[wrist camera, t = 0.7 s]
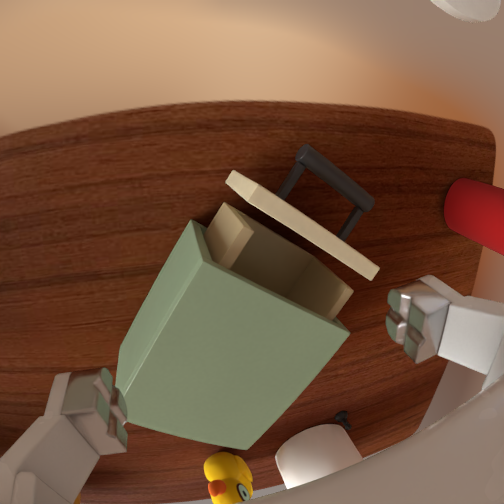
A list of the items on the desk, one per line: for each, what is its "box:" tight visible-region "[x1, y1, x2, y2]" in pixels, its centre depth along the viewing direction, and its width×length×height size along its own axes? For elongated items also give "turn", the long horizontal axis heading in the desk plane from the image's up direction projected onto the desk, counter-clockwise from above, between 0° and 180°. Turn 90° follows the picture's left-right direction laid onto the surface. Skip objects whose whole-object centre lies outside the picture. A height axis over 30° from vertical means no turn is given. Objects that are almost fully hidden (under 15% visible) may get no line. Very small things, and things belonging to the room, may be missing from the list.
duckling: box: [204, 452, 253, 504], centre depth 34 cm, size 11×5×10 cm, turn 24°
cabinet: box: [115, 219, 350, 450], centre depth 26 cm, size 15×13×9 cm
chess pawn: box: [334, 411, 351, 430], centre depth 40 cm, size 2×2×3 cm
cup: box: [275, 424, 363, 489], centre depth 38 cm, size 12×12×12 cm
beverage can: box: [444, 178, 504, 256], centre depth 28 cm, size 7×7×12 cm
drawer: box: [203, 144, 380, 321], centre depth 25 cm, size 18×11×7 cm, turn 146°
